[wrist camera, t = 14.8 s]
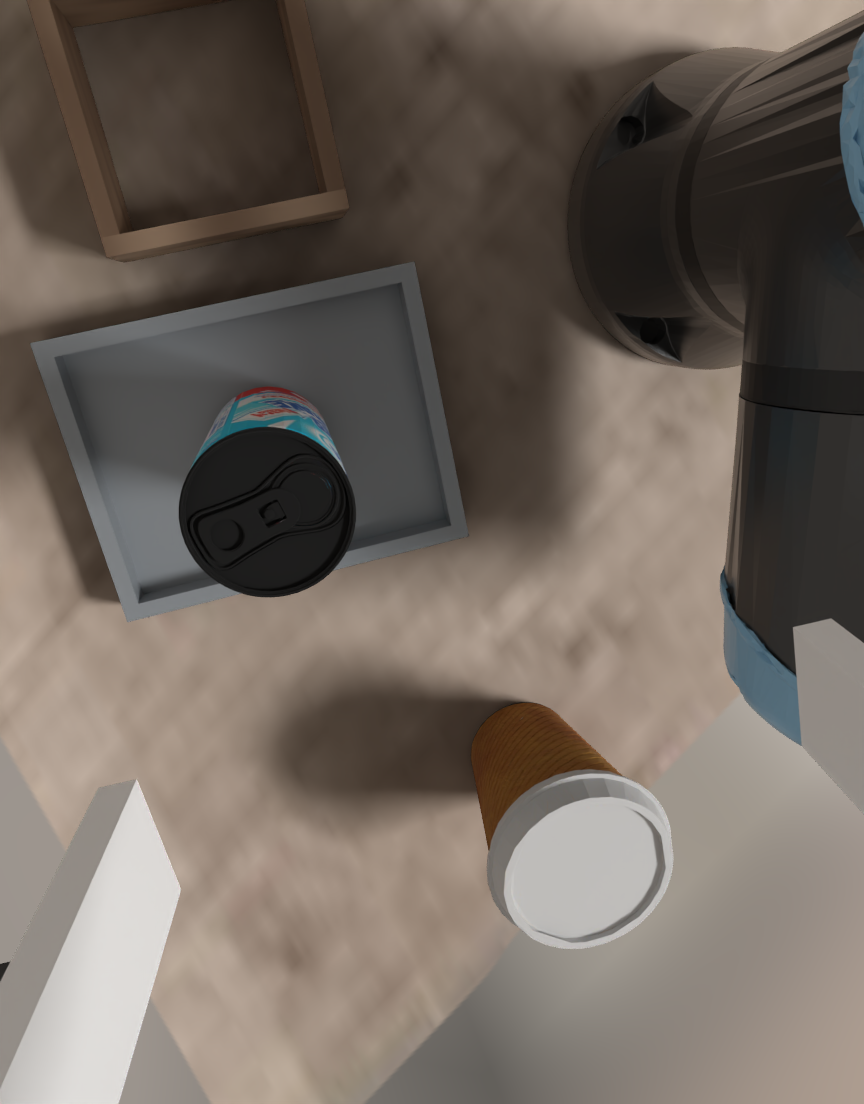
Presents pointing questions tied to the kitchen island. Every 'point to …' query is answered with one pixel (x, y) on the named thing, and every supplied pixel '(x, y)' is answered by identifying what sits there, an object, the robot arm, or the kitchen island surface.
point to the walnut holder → (55, 13)
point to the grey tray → (225, 372)
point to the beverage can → (267, 497)
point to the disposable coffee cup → (565, 832)
